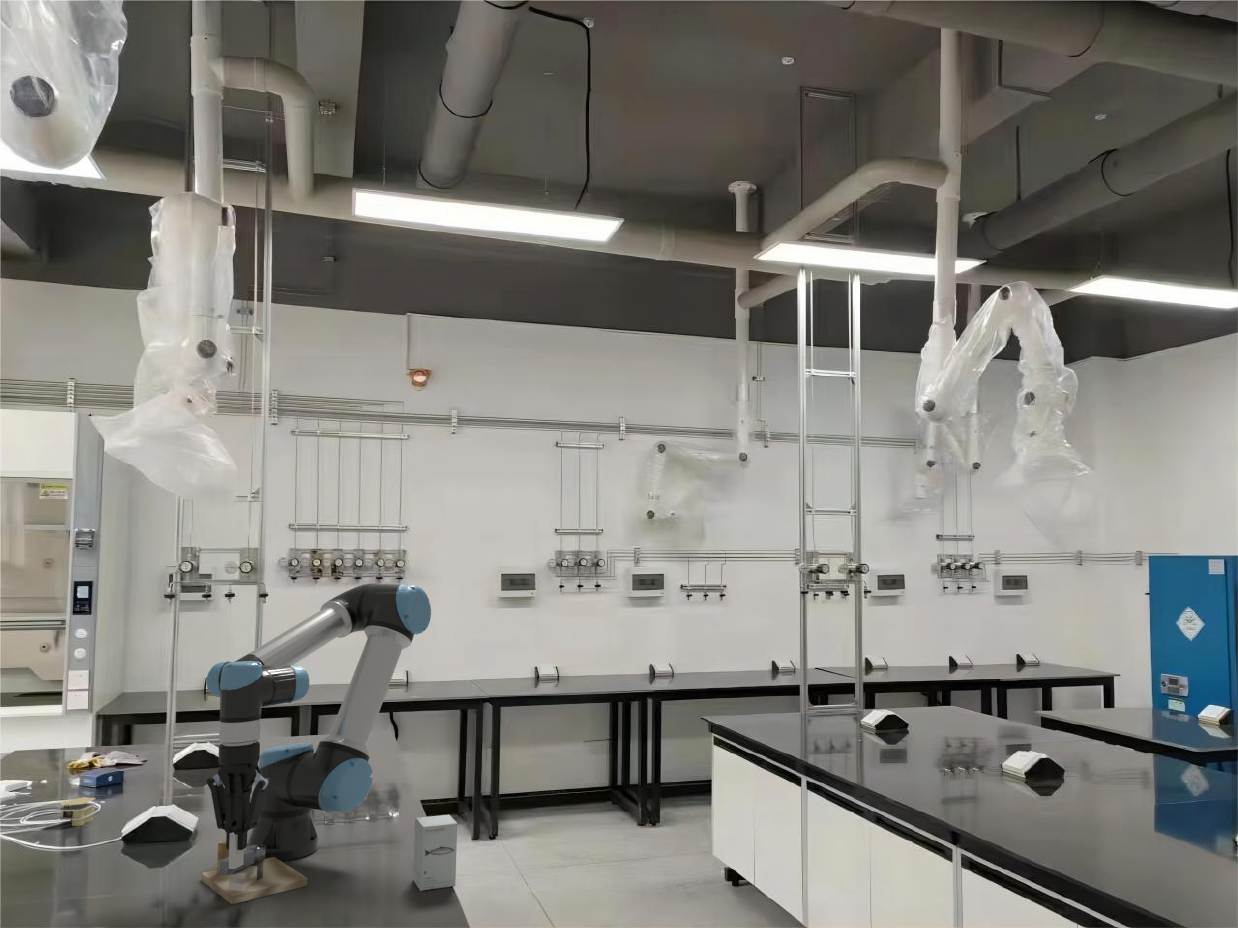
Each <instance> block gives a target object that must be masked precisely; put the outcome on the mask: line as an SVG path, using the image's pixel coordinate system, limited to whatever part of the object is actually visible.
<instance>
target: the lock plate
mask: <svg viewBox="0 0 1238 928" xmlns="http://www.w3.org/2000/svg"><path fill="white" fill-rule="evenodd" d="M227 857H229V849H227V848H226V839H222V840H221V841H218V844H217V859H216V861H217V863H216V869H213V870H209V871H205V872H204V871H203V872H201V881H202V882H203V883H204V884H205V885H206V886H208V887H209V888H210V889H211V890H213V891H214V892H215V893H216V894H218V895H219V896H220V897H222V898H223V899H224V900H225V901H227V902H228V903H229V904H230V905H235V904H239V903H242V902H243V903H244V902H246V901H251V900H255V899H258V898H263V897H267V896H271V895H275V894H279V893H283V892H287V891H291V890H295V889H301V888H303V887H307V886H308V880H309V879H308V877H307V876H305V875H304V874H302V873H300V872H299V871H297V870H295V868H292V867H291V866H290V865H287V864H286V863H284V861H280V860H278V859H276V858H275V857H272V858H267V859H265V860H264V861H262V862H258V863H253V864H251V865H249V866H247V867H245V868H243V869H240V870H238V871H236V872H234V873H232V874H230V875H223V874H220V861H221V860H223V859H225V858H227Z"/></svg>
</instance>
